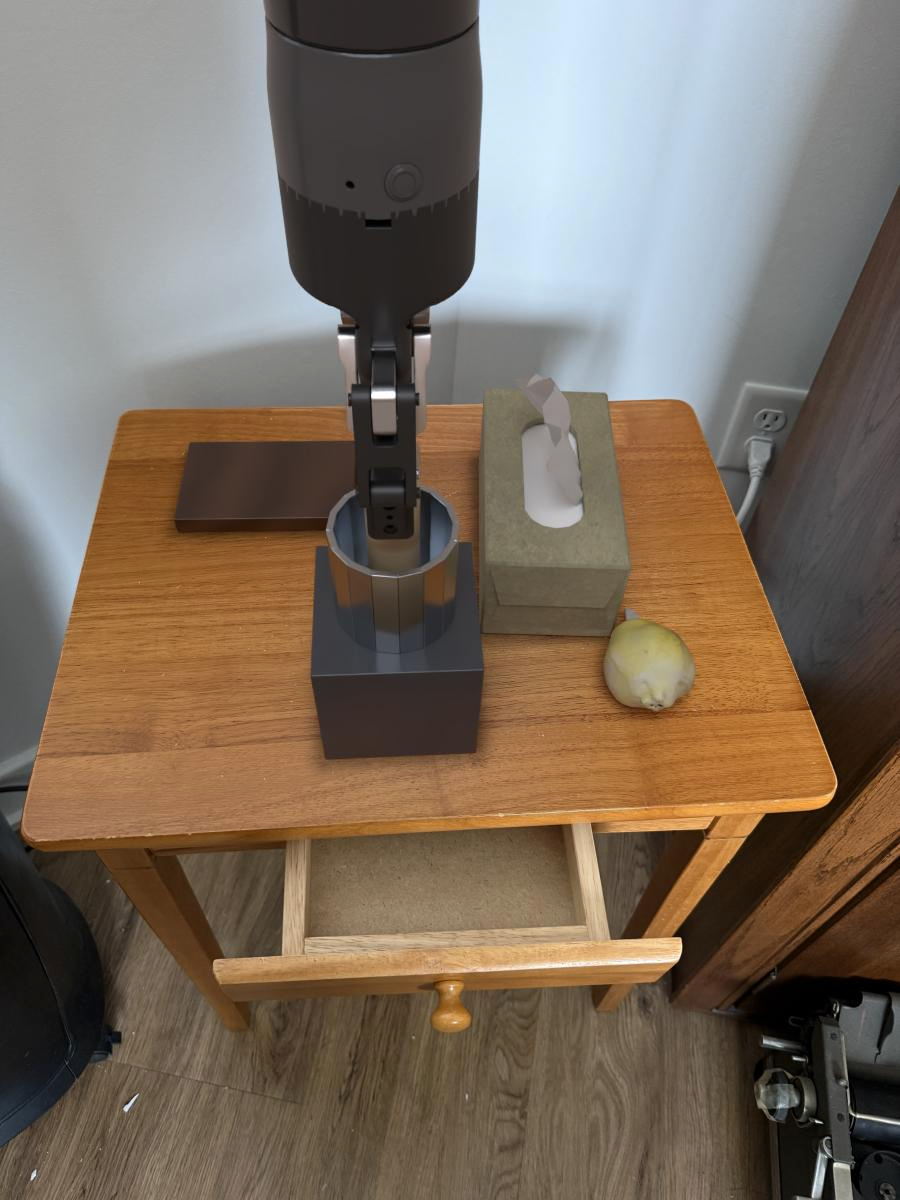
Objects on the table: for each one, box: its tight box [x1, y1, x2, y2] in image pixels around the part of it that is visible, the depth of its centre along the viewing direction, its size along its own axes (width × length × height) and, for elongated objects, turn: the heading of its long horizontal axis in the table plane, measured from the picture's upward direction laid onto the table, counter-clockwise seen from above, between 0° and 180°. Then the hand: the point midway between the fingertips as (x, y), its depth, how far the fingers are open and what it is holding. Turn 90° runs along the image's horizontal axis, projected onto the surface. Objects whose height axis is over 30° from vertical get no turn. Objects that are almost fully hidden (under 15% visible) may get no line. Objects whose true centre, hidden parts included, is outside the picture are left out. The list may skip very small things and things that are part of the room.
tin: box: [325, 483, 461, 654], centre depth 51 cm, size 7×7×7 cm
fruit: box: [603, 607, 697, 712], centre depth 62 cm, size 6×6×10 cm
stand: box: [309, 541, 485, 760], centre depth 58 cm, size 10×10×10 cm
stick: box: [364, 441, 421, 572], centre depth 49 cm, size 3×3×12 cm
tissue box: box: [478, 372, 633, 638], centre depth 65 cm, size 19×10×16 cm, turn 179°
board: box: [173, 440, 357, 533], centre depth 73 cm, size 14×9×2 cm, turn 92°
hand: (391, 472), depth 45 cm, fingers open, 8 cm apart
